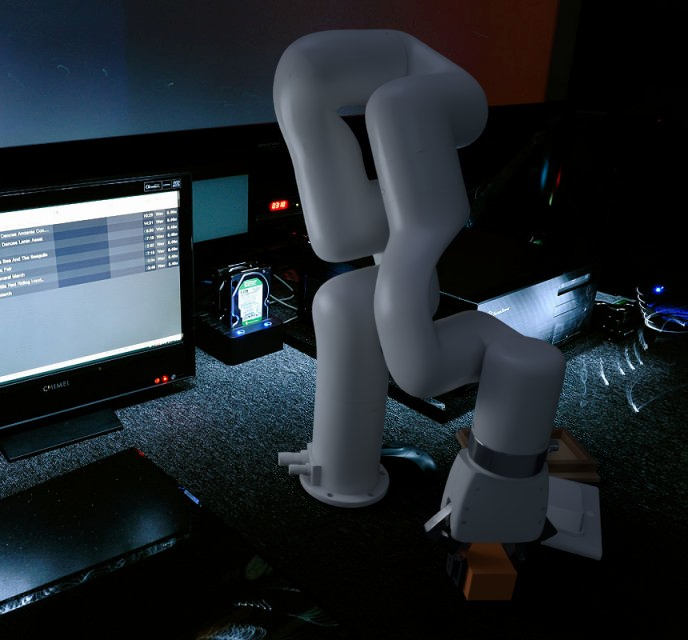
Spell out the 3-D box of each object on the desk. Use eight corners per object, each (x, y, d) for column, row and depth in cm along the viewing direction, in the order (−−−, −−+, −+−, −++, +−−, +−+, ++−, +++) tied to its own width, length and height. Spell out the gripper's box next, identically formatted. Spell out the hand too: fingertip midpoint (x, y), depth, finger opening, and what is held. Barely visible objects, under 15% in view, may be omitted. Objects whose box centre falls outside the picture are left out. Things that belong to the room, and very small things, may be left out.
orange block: (467, 600, 75) (472, 573, 74) (449, 561, 81) (454, 535, 79) (511, 600, 75) (517, 573, 74) (490, 561, 81) (496, 535, 79)
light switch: (509, 514, 83) (515, 450, 93) (503, 537, 85) (510, 473, 95) (608, 541, 79) (603, 471, 89) (599, 564, 81) (595, 494, 91)
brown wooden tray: (483, 483, 94) (486, 470, 94) (455, 435, 105) (457, 423, 105) (599, 482, 94) (603, 469, 93) (558, 434, 105) (561, 422, 104)
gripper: (569, 429, 74) (537, 554, 81) (416, 430, 74) (398, 556, 81) (605, 470, 67) (568, 603, 75) (437, 472, 67) (416, 604, 75)
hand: (480, 577), depth 78 cm, fingers closed on orange block, 5 cm apart
